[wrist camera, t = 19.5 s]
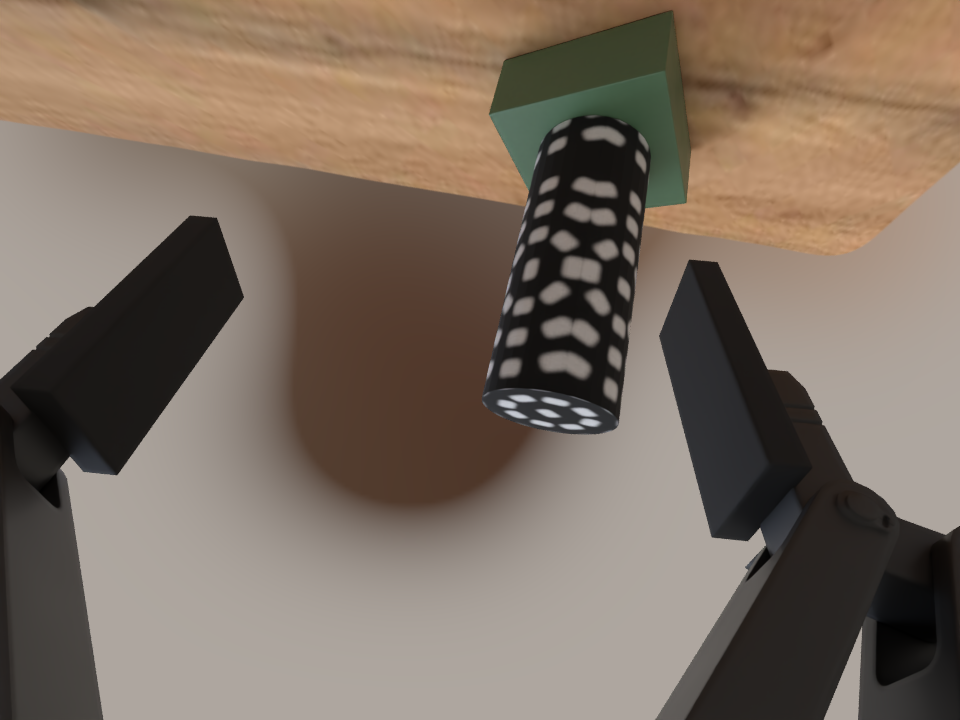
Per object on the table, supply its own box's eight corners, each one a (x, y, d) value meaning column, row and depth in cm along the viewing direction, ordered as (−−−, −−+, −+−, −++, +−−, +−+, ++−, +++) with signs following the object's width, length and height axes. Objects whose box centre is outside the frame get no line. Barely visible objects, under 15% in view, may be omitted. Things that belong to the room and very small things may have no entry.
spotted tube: (670, 176, 37) (643, 434, 30) (576, 210, 43) (535, 434, 36) (615, 94, 32) (567, 383, 25) (516, 145, 38) (454, 392, 31)
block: (554, 173, 47) (544, 221, 45) (503, 60, 38) (488, 114, 36) (691, 150, 42) (686, 203, 40) (672, 9, 32) (665, 70, 30)
